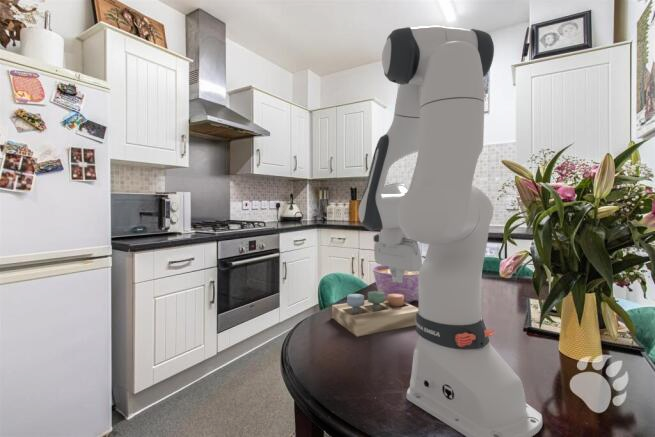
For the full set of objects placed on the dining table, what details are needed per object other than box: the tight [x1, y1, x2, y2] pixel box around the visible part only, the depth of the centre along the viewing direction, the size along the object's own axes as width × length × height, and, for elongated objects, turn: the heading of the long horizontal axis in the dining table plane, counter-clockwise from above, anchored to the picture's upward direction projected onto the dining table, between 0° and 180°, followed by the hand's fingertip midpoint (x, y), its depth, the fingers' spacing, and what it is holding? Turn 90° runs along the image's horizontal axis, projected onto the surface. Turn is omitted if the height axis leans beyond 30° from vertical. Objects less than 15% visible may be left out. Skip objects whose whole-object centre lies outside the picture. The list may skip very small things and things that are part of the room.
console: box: [331, 297, 418, 337], centre depth 99 cm, size 16×22×4 cm
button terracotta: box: [387, 294, 404, 309], centre depth 102 cm, size 5×5×6 cm
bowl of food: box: [372, 264, 419, 304], centre depth 120 cm, size 20×20×12 cm
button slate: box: [346, 293, 365, 315], centre depth 96 cm, size 5×5×6 cm
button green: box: [367, 290, 385, 312], centre depth 99 cm, size 5×5×6 cm
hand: (397, 282), depth 101 cm, fingers closed
